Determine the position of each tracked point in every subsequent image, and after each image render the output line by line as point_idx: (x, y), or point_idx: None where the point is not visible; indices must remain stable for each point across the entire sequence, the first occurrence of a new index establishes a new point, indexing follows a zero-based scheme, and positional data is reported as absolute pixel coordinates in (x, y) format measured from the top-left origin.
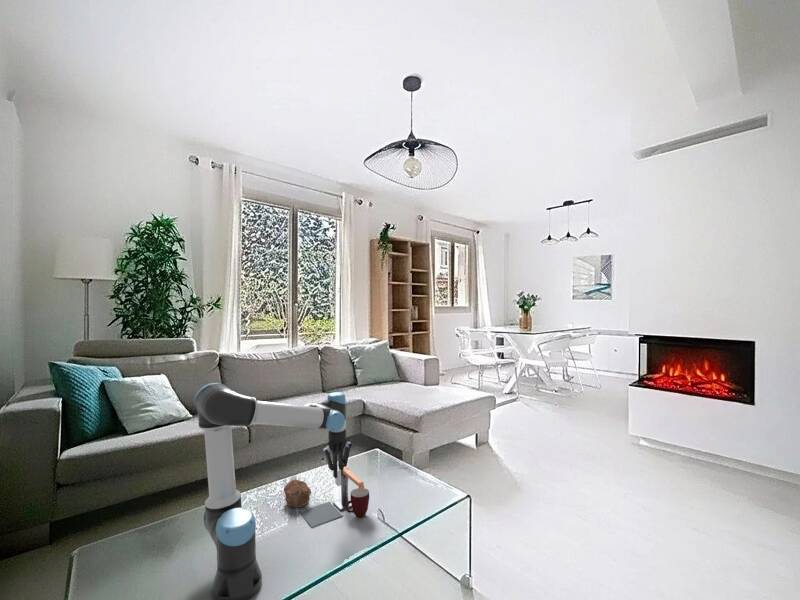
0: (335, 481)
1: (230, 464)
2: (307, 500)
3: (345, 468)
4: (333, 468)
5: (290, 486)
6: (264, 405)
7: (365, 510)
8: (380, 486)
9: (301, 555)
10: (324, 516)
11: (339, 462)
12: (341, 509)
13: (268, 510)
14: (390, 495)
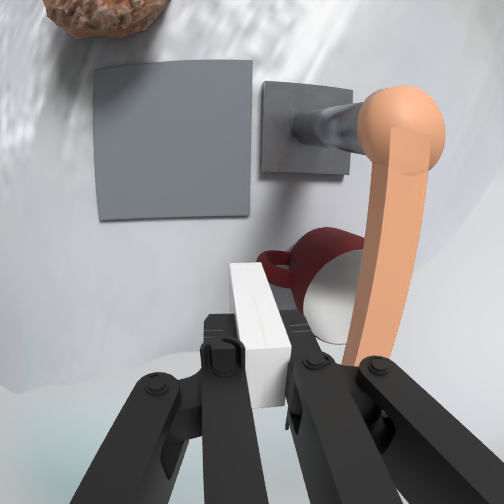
0: (230, 277)
1: None
2: (139, 30)
3: (420, 137)
4: (185, 443)
5: None
6: None
7: (330, 295)
8: (478, 115)
9: (52, 336)
10: (174, 173)
11: (305, 451)
12: (267, 171)
13: (16, 10)
14: (468, 197)
